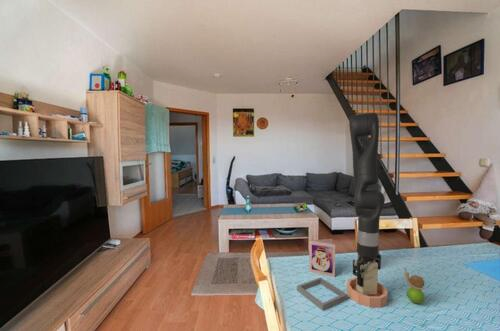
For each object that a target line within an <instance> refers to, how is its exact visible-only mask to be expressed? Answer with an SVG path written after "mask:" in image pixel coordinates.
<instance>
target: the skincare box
mask: <svg viewBox="0 0 500 331" xmlns="http://www.w3.org/2000/svg"><path fill="white" fill-rule="evenodd" d="M366 265H367V264H365V265H362V264H361V266H360V268H362V269H364V268H365V266H366ZM378 270H379V269H378V263H377V262H375V263H372V262H371V264H370V266H369V267H368V270H367V272H366V273H365V274H364V277H363V278H364V284H363V287H360V286H359V285H358V284H357V290H358V291H359V292H360V293H361V294H363V295H372V294H377V282H378V275H379V274H378V272H379V271H378ZM361 273H362V271H360V274H361Z"/></svg>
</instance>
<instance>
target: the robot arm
mask: <svg viewBox="0 0 500 331" xmlns="http://www.w3.org/2000/svg"><path fill="white" fill-rule="evenodd" d="M348 125H349V133H350V141H351V149H352V151H351V152H352V169H353V170H352V173H353V182H354V194H353V195H354V196H353V204H354V211H355V215H356V216H357V217H358V218H357V220H358V222H357V232H356V233H357V234H356V253H357V256H356V257H357V259H353V260H352V275H353V276H355V277H357V284H358V285H359V286H360V287H363V284H364V278H363V277H364V274H365V273H366V272H367V270H368V267H369V266H370V264H371V262H372V263H375V262H377V263H378V270H381V267H382V266H381V264H382V263H381V262H382V255H381V254H380V216H381V213H382V211H383V208H384V205H385V201H386V198H385V196H384V194H383V193H382V192H381V191H379V190H368V188H369V187H370V186H375V185H377V184H378V181H379V175H378V174H379V173H378V154H379V153H378V152H379V139H380V138H379V137H380V136H379V134H380V119H379V116H378V113H376V112H368V113H367V112H366V113H359V114H353V115H351V116H350V117H349V123H348ZM367 136H370V138H369V142H368V143H367V146H366V148H365V147H364V146H363V144H362V141H361V140H360V137H367ZM361 264H362V265H365V264H367V265H366V266H365V268H364V269H362V268H360V266H361ZM360 271H362V273H361V274H360Z"/></svg>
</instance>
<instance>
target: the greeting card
mask: <svg viewBox="0 0 500 331" xmlns="http://www.w3.org/2000/svg"><path fill="white" fill-rule="evenodd" d="M308 246H309V249H308V250H309V253H308V254H309V256H308V257H309V260H308V261H309V262H308V263H309V265H308V266H309V267H308V270H309V271H308V272H310V273H314V274H319V275H323V276H328V277H333V278H335V277H336V244H334V243H333V238H326V239H325V238H324V239H323V238H322V239H314V240H313V239H311V240H309V245H308Z"/></svg>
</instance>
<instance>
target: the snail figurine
mask: <svg viewBox="0 0 500 331" xmlns="http://www.w3.org/2000/svg"><path fill="white" fill-rule="evenodd" d="M409 274H410V273H409V271H407V268H406V267H404V276H405V280H406V282H407V284H408V286H410V287H409V288H407V291H406V297H407V298H408V300H410V302H412V303H414V304H418V305H419V304H422V303H423V302H424V301H425V294H424V292H423V291H422V290H425V287H424V286H425V280H424V279H423V278H422V277H421V276H419V275H416V274H413V275H411V276H410V275H409ZM409 276H410V277H409Z"/></svg>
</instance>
